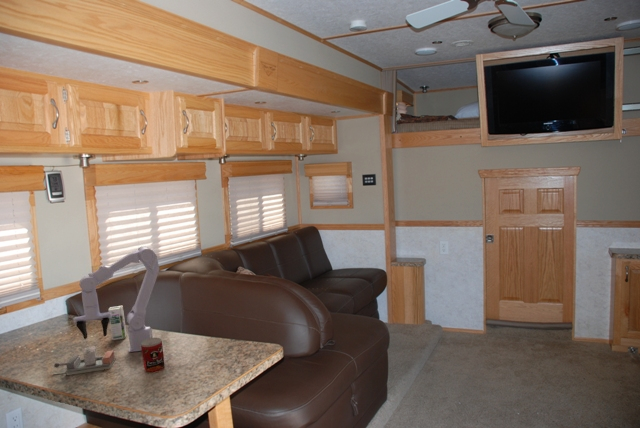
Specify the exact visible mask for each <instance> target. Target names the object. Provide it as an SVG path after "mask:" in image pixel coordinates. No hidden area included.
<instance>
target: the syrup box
mask: <svg viewBox="0 0 640 428" xmlns="http://www.w3.org/2000/svg"><path fill="white" fill-rule="evenodd" d="M107 310H108V311H107V313H112V317H111V318H110V320H109V325H110V333H111V339H112V341H115V340H123V339H126V337H127V328H126V319H125V314H124V313H125V312H124V306H123V305H118V306H117V305H116V306H110V307H109V308H108V309H107Z"/></svg>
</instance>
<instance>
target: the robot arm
mask: <svg viewBox="0 0 640 428" xmlns="http://www.w3.org/2000/svg"><path fill="white" fill-rule="evenodd" d="M132 263H133V264H135V263H136V264H137V263H142V264H143V266H144V267H145V269H146V272H145V274H144V277H143V280H142V282H141V285H140V289H139V292H138V294H137V297H136V300H135V303H134V304H133V306H132V307H131V310H130V311H129V312H128V313H127V315H126V319H125V321H126V323H127V324H128V325H129V326H128V328H127V331H128V342H129V349H128V350H127V351H128V352H127V353H134V352H135V353H136V352H142V349H141V342H143V341H144V340H147V339H150V338H154V337H153V329H152V327H151V326H146V319H145V318H146V315H147V307H148V305H149V302H150V301H149V300H150V299H151V296H152V292H153V290H154V286H155V283H156V281H157V279H158V275H159V272H160V265H159V261H158V256H157V254H156V252H155V251H154V250H153V249H151V248H149V247H148V246H146V245H145V246H144V245H143V246H140V247H138V249H134V250H132V251H131V252H128V253H127V254H126V255H124V256H123V257H121V258H119V259H118V260H117V261H115V262H114V263H112V264H111V265H100V266H98V269H96V270H95V271H92V273H91V272H90V273H88V274H87V275H86V276H83V277H81V279H80V280H79V287H80V289H81V300H82V305H83V312H84V315H81V316H75V317H73V318H72V319H73V324H76V327H77V328H78V330H79V331H80V333H81V334H82V336H83V339H84V340H86V339H88V331H87V322H89V321H98V320H101V321H100V323H101V328H102V333H103V337H107V335H108V326H109V324H110V318H111V317H112V313H109V312H100V306H99V300H98V299H99V298H98V292H97V290H96V288H97V286H99V285H102V284H103V283H105V282H106V281H108V280H110V279H112V278H113V277H114V273H115V272H117V271H119V270H121V269H123V268H125V267H126V266H128V265H130V264H132Z"/></svg>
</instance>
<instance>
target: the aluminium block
mask: <svg viewBox="0 0 640 428" xmlns="http://www.w3.org/2000/svg"><path fill="white" fill-rule="evenodd" d="M97 357H98V354H97V348H96V345H94V346H88V347H84V349H83V359H84V361H85V367H88V366H95V365H97Z"/></svg>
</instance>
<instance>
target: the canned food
mask: <svg viewBox="0 0 640 428" xmlns="http://www.w3.org/2000/svg"><path fill="white" fill-rule="evenodd" d="M163 348H164V347H163V342H162V338H161V337H153V338H150V339H147V340H144V341H143V342H141V349H142V351H141V354H142V355H141V356H142V364H143V369H144V372H146V373H148V374H149V373H150V374H151V373H157V371H158V372H160V371H161V370H164V369H165V365H166V364H165V355H164V349H163Z"/></svg>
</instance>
